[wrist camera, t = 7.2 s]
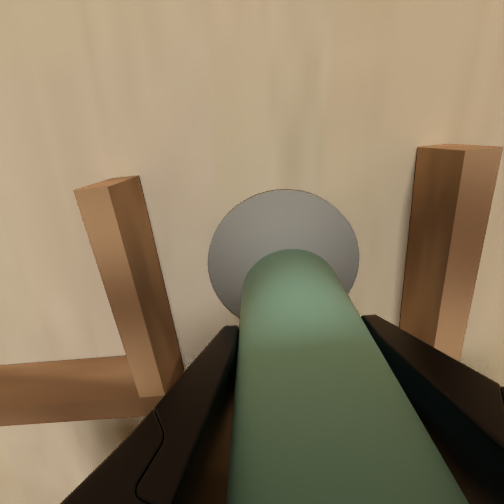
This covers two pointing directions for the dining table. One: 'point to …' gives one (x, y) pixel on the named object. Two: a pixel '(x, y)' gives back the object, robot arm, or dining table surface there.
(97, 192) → the channel
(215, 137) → the dining table surface
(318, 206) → the pad
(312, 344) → the peg
